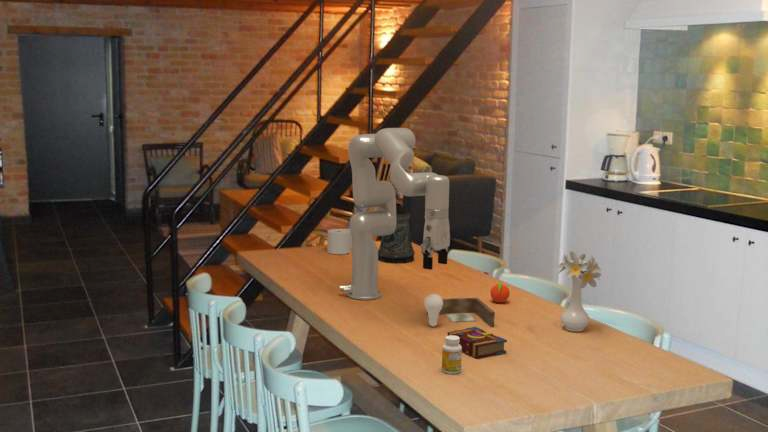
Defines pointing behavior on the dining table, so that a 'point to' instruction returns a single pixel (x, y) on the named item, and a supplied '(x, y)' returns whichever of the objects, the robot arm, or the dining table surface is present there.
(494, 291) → the clementine
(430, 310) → the lightbulb
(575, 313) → the flower vase
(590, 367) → the dining table surface
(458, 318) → the corner fence
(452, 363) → the supplement bottle
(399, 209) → the beer stein
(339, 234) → the toilet tissue
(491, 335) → the decorative book
